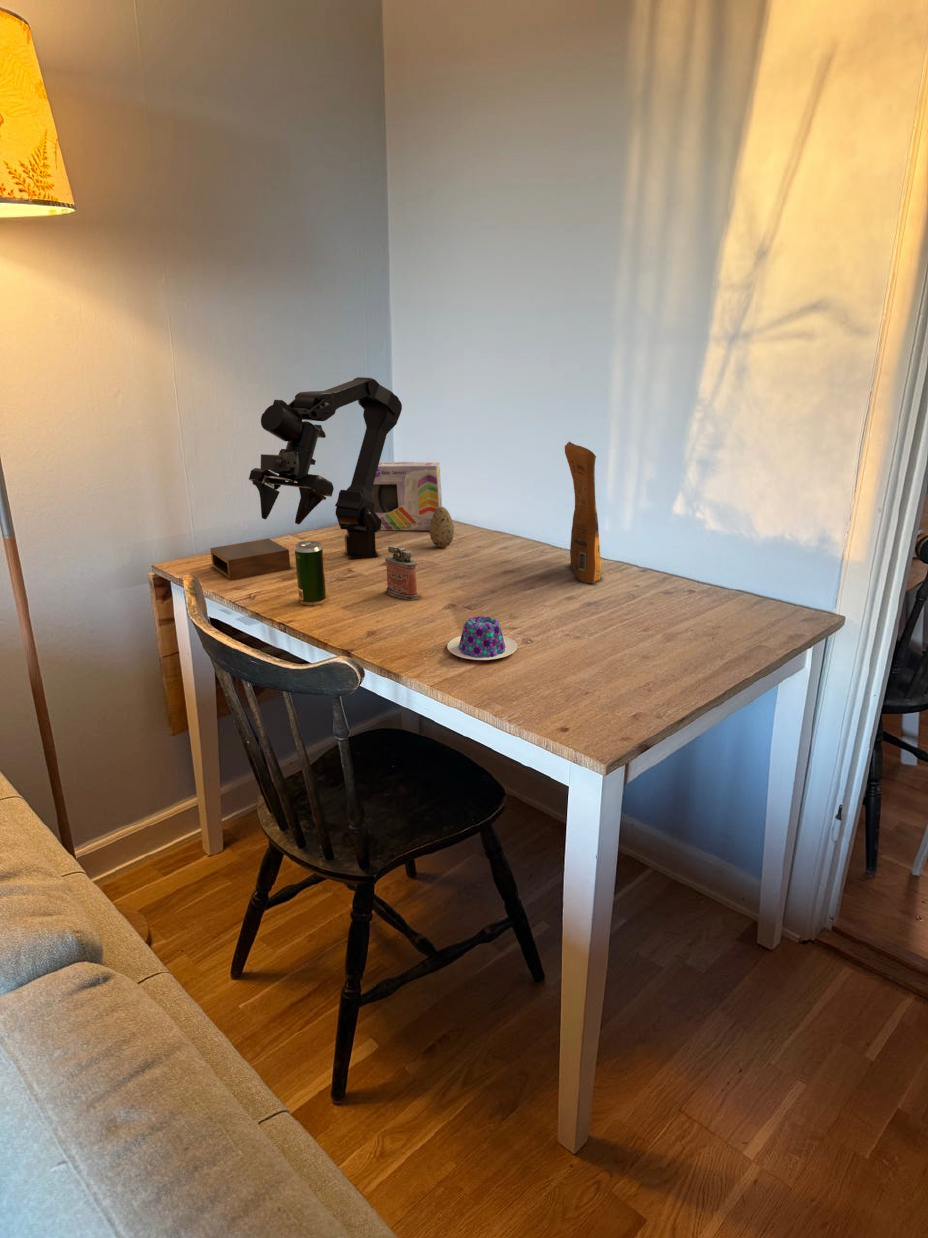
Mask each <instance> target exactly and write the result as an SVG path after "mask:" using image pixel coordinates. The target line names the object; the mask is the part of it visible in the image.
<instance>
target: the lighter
mask: <svg viewBox="0 0 928 1238" xmlns="http://www.w3.org/2000/svg"><path fill="white" fill-rule="evenodd" d="M387 553H389V554H392V555H386V556H385V557H384V561H385V564H386V565H385V566H386V582H387V583H386V586H387V587H386V594H388V595H390V596H392V597H394V598H395V597H396V598H399V599H404V600H409V601H413V600H414V601H415V600H417V599H418V598H419V593H418V588H417V587H418V586H417V585H418V584H417V567H418V562H417V561H416V560H414V559H412V551H411V550H407V547H405V546H403V547H398V546H395V545H389V546H387Z"/></svg>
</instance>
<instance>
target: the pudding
mask: <svg viewBox="0 0 928 1238" xmlns="http://www.w3.org/2000/svg"><path fill="white" fill-rule="evenodd" d="M446 645H447V646H446V647H447V650H448V651H449V653H451V654H452V655H455V656H456V657H460V658H462V659H467V660H475V661H489V660H497V659H501V658H505V657H508V656H510V655H512V654H513V653H514V652H516V651H517V649H518V644H517V642H516V641H515V640H514V639H513V638H511V637H508V636H506V635H503V631H502V627H501V624H500V622H499V620H498V619H496V618H494V617H491V616H484V615H483V616H481V615H480V616H475V617H474V616H473V617H470V618H469V619H468V620H466V621H465V622H464V624H463V628H462V631H461V635H459V636H456V637H454V638H452V639H451V640H450V641H449V642H448V644H446Z"/></svg>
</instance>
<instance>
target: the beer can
mask: <svg viewBox="0 0 928 1238" xmlns="http://www.w3.org/2000/svg"><path fill="white" fill-rule="evenodd" d="M294 557H295V569H296V579H297V590H298V592H297V593H298V600H299V602H300V604H302V605H303V606H318V605H322V604H325V601H326V598H327V591H326V577H325V576H326V575H325V563H324V550H323V546H322V543H321V542H320V541H319V540H302V541H298V542H296V543H295V548H294Z"/></svg>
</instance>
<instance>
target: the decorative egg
mask: <svg viewBox="0 0 928 1238" xmlns="http://www.w3.org/2000/svg"><path fill="white" fill-rule="evenodd" d="M454 536H455V527H454V522H453V519H452V516H451V514H450V512H449V511H448V510H447V508H446V507H444V506H442V507H439V508H438V509H437V510H436V511H435V513H434V514H433V517H432V520H431V524H430V530H429V537H430V540H431V542H432V543H433V544H434V546H436V547H438V548H446V547H448V546H449V545H450V544H451V543H452V542H453V541H454V540H453V539H454Z"/></svg>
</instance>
